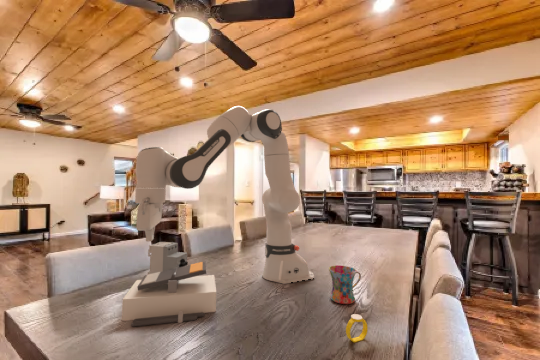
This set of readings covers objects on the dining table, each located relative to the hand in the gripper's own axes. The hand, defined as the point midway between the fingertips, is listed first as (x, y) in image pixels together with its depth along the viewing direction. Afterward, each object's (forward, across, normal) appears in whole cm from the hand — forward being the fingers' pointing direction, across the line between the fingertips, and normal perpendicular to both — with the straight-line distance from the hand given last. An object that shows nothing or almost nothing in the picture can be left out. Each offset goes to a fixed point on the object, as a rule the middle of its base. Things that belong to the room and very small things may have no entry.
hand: (149, 240), depth 82 cm
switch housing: (+21, 0, -8) cm, 22 cm away
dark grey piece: (+21, -11, -8) cm, 25 cm away
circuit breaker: (+21, +21, -4) cm, 30 cm away
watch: (+22, -31, -55) cm, 66 cm away
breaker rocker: (+11, 0, -8) cm, 14 cm away
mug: (+22, -9, -65) cm, 69 cm away
